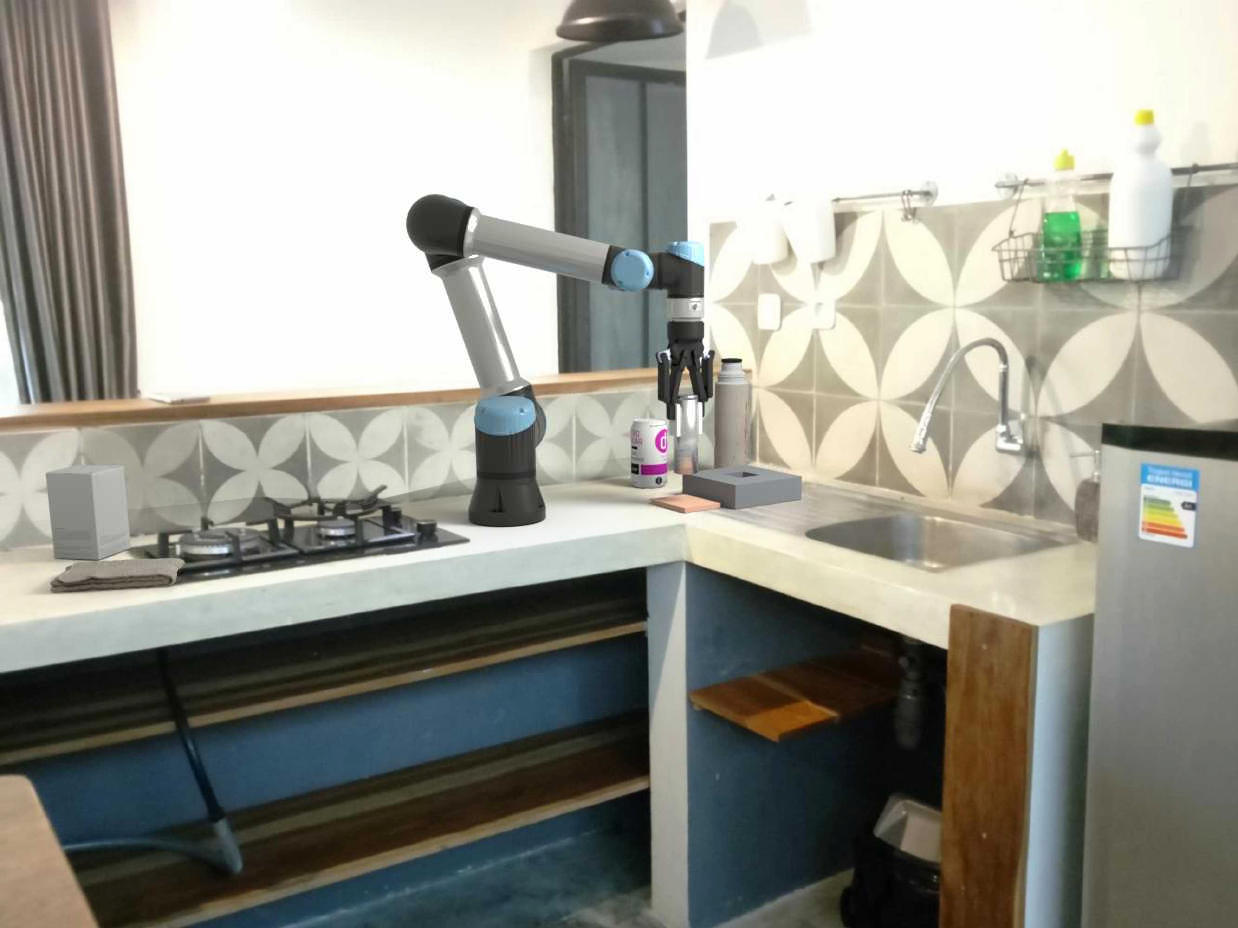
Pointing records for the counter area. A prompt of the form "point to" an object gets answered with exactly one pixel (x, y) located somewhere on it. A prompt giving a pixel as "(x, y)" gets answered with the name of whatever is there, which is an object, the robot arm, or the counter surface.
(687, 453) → the shiny metal cylinder
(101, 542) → the supplement box
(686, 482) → the block
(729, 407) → the thermos bottle
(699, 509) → the pad
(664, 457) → the supplement can
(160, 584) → the washcloth
